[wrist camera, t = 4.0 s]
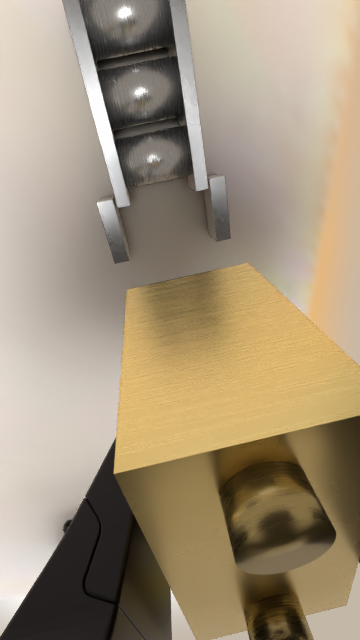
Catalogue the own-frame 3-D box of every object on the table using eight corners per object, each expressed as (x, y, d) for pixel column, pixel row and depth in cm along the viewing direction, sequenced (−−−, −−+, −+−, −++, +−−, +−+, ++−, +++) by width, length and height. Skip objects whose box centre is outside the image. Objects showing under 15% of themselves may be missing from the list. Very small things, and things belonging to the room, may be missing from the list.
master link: (259, 419, 11) (367, 649, 6) (172, 439, 11) (203, 692, 6) (248, 262, 8) (457, 458, 3) (126, 289, 8) (108, 542, 3)
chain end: (221, 231, 18) (232, 239, 16) (117, 253, 18) (114, 265, 16) (194, -18, 13) (205, -54, 11) (45, 10, 13) (27, -21, 11)
